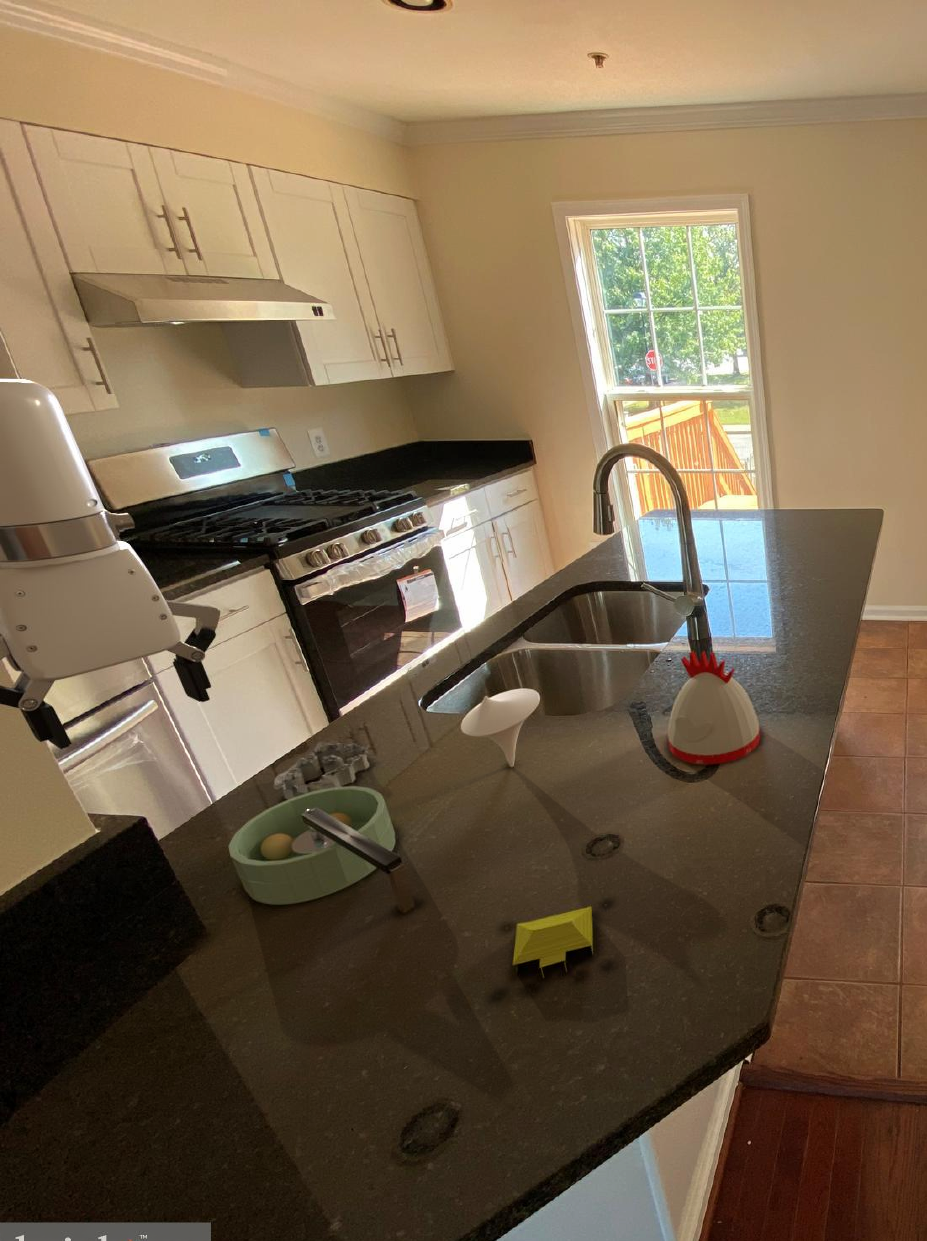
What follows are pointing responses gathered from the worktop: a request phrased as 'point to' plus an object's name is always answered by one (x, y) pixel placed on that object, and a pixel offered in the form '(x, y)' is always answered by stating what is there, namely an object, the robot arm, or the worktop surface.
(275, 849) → the orange-brown rounded ball
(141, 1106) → the worktop surface
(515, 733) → the white spinning top
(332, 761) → the egg carton
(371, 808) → the bowl
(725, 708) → the kitchen timer
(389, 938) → the worktop surface
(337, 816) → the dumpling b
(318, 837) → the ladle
